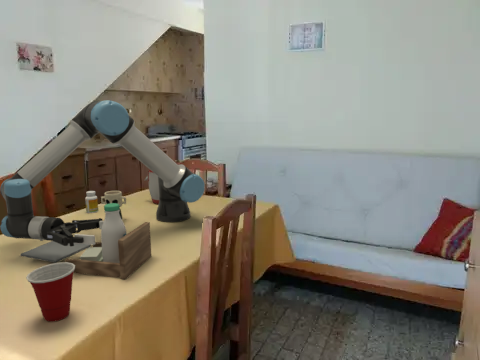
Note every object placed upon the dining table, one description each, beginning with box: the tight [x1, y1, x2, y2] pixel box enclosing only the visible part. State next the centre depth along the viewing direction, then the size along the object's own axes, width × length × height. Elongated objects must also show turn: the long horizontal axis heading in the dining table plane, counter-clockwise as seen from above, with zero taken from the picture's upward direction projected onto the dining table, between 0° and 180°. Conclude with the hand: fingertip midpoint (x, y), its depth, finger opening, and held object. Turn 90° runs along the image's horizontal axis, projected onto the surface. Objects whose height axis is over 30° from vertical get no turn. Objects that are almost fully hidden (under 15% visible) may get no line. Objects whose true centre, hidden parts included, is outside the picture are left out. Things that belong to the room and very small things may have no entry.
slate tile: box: [19, 241, 92, 264], centre depth 142 cm, size 16×16×1 cm
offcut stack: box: [79, 246, 103, 262], centre depth 132 cm, size 7×10×4 cm
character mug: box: [100, 190, 127, 220], centre depth 175 cm, size 11×7×13 cm, turn 89°
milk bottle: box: [100, 203, 127, 263], centre depth 128 cm, size 8×8×20 cm
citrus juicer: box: [144, 168, 159, 205], centre depth 207 cm, size 16×17×20 cm
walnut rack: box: [64, 221, 152, 280], centre depth 129 cm, size 20×18×12 cm
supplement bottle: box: [84, 190, 99, 214], centre depth 191 cm, size 5×5×10 cm
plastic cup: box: [25, 261, 75, 322], centre depth 98 cm, size 11×11×12 cm
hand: (106, 232), depth 127 cm, fingers open, 13 cm apart
